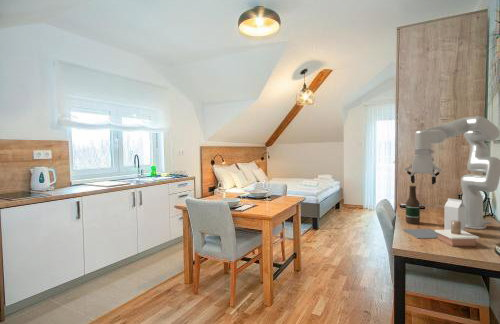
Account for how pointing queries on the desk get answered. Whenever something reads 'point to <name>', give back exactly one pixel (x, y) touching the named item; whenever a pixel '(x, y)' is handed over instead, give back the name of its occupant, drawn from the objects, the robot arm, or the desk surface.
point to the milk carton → (454, 213)
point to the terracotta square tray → (456, 241)
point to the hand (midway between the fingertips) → (423, 183)
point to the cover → (456, 232)
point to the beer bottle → (412, 207)
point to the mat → (422, 233)
